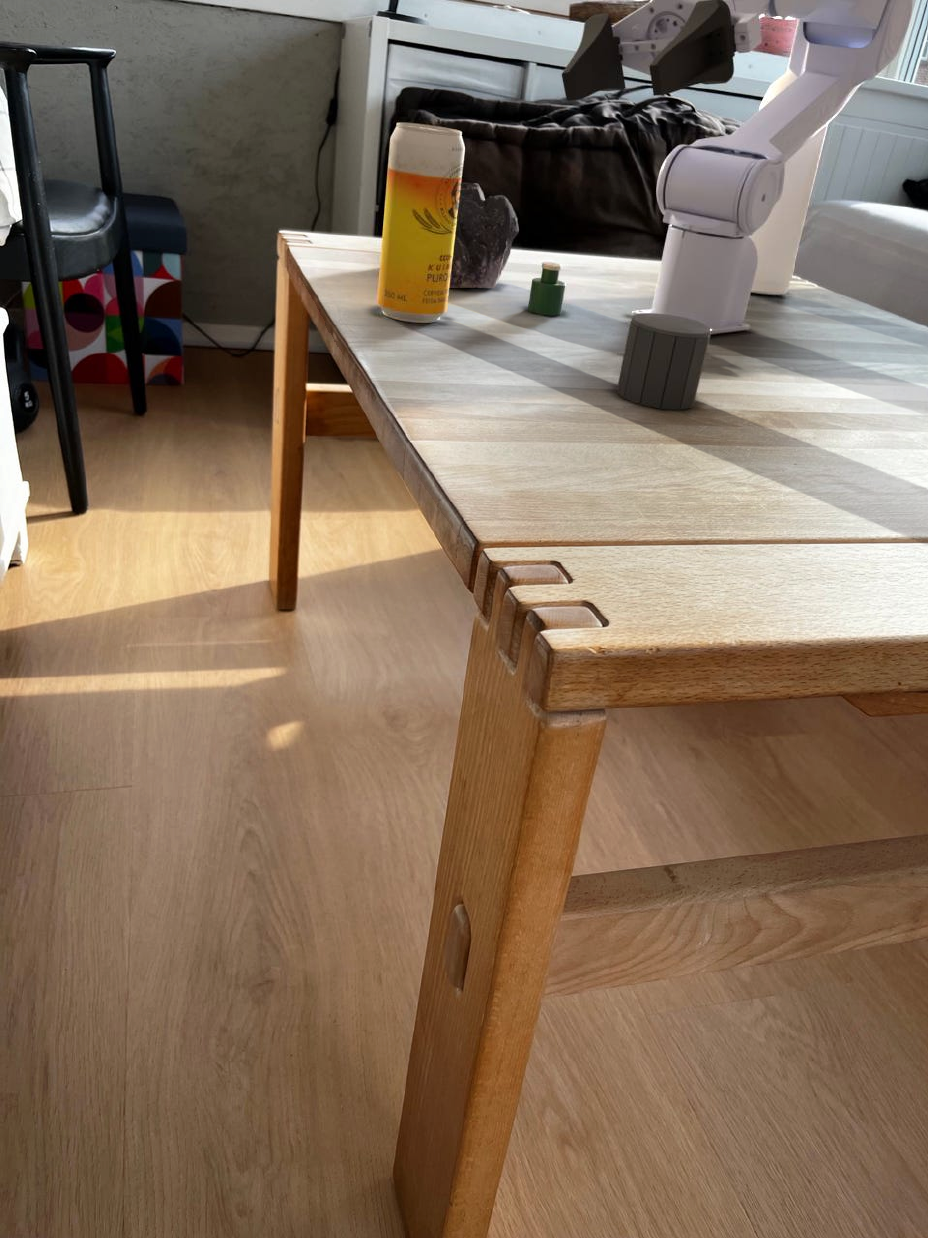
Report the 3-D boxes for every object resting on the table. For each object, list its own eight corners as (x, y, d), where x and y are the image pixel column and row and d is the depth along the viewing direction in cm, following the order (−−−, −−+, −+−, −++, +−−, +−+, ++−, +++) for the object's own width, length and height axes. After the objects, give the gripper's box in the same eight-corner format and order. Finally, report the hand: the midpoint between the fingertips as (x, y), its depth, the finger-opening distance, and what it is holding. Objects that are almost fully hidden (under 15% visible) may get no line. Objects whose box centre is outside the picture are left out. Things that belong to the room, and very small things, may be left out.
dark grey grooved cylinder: (649, 382, 80) (664, 310, 77) (708, 404, 76) (726, 330, 74) (602, 389, 76) (616, 315, 74) (662, 413, 73) (679, 336, 70)
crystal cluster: (355, 281, 102) (367, 177, 97) (402, 252, 113) (415, 156, 108) (481, 317, 100) (500, 212, 95) (516, 283, 111) (536, 187, 106)
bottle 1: (543, 306, 100) (551, 259, 98) (567, 314, 98) (575, 267, 96) (520, 308, 98) (527, 260, 96) (544, 316, 96) (552, 268, 94)
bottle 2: (796, 291, 125) (866, 7, 111) (776, 297, 119) (847, -3, 105) (734, 280, 128) (794, 3, 115) (711, 284, 122) (772, -7, 109)
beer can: (437, 328, 87) (458, 134, 79) (367, 316, 87) (382, 122, 80) (451, 314, 92) (473, 131, 85) (386, 303, 93) (402, 120, 85)
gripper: (616, -30, 83) (519, 33, 77) (784, -56, 74) (690, 13, 68) (631, 62, 88) (540, 129, 81) (791, 49, 79) (703, 122, 72)
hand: (610, 83), depth 75 cm, fingers open, 7 cm apart
